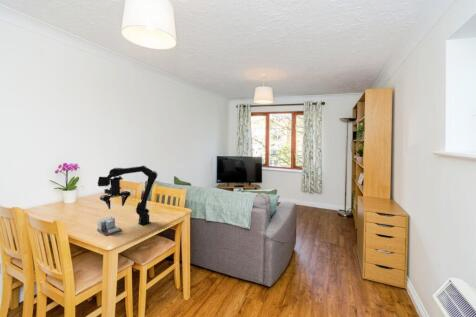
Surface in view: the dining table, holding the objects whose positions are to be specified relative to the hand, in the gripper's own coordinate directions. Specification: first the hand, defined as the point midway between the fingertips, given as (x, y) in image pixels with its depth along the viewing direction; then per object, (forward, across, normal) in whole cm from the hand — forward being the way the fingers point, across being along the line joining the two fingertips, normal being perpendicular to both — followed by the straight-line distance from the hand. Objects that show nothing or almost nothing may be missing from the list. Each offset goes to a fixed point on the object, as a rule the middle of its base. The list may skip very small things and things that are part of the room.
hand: (116, 207), depth 163 cm
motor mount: (+13, +8, +6) cm, 16 cm away
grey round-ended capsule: (+12, +8, +8) cm, 16 cm away
